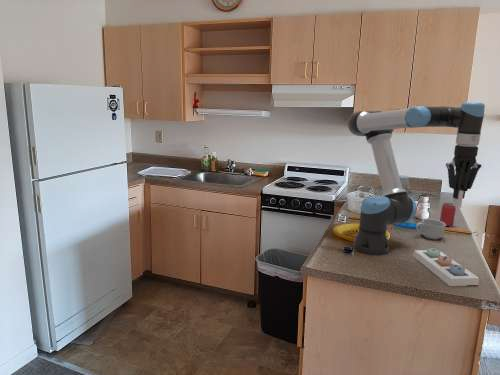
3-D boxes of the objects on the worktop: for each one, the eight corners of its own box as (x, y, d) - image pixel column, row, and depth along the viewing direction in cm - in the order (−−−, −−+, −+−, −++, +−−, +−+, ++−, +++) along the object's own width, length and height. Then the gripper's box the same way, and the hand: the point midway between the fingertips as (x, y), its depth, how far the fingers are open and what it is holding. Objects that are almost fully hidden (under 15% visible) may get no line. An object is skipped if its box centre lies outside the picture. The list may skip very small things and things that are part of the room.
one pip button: (430, 259, 158) (431, 252, 157) (423, 254, 163) (424, 247, 162) (441, 259, 158) (442, 252, 158) (434, 254, 163) (436, 247, 163)
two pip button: (454, 277, 142) (455, 269, 142) (446, 271, 147) (447, 264, 147) (466, 277, 143) (468, 269, 142) (458, 271, 148) (459, 263, 147)
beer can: (436, 223, 211) (440, 202, 208) (448, 223, 212) (451, 202, 209) (443, 227, 205) (447, 205, 202) (455, 227, 205) (459, 205, 202)
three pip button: (441, 268, 150) (442, 260, 149) (434, 262, 155) (435, 255, 154) (453, 268, 151) (454, 260, 150) (446, 262, 156) (447, 255, 155)
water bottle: (387, 219, 216) (392, 175, 210) (396, 217, 219) (402, 174, 213) (400, 224, 208) (405, 179, 202) (410, 222, 211) (416, 177, 206)
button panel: (449, 286, 140) (451, 278, 140) (413, 256, 165) (414, 250, 165) (477, 285, 141) (479, 278, 141) (437, 256, 166) (438, 250, 166)
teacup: (438, 234, 194) (441, 219, 192) (447, 242, 184) (449, 226, 182) (410, 232, 196) (412, 217, 194) (417, 240, 185) (419, 224, 183)
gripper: (456, 146, 137) (446, 209, 143) (490, 146, 139) (479, 209, 144) (444, 143, 145) (435, 203, 150) (476, 144, 146) (466, 203, 152)
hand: (456, 206), depth 147 cm, fingers closed
